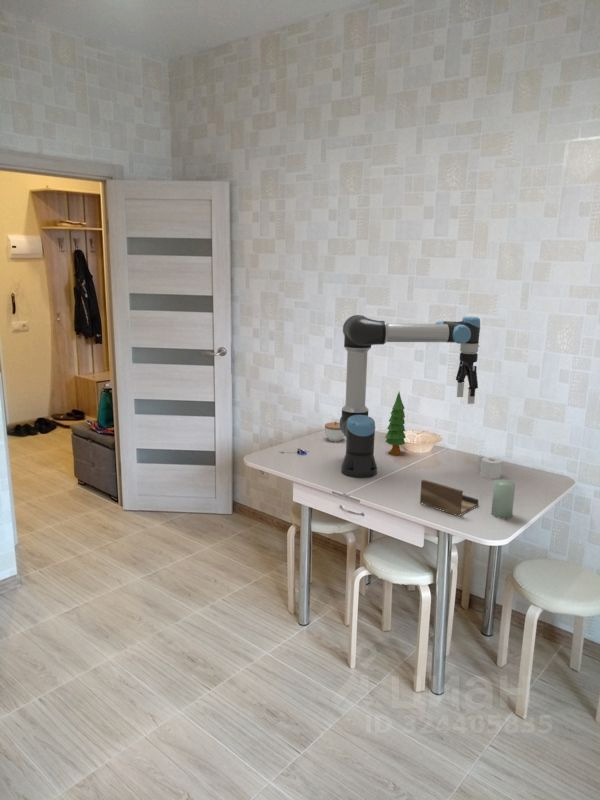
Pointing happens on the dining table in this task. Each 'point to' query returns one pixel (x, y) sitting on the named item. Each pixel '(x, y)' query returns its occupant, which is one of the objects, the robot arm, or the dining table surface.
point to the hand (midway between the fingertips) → (465, 400)
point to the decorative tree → (396, 427)
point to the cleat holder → (446, 498)
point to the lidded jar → (334, 432)
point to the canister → (503, 498)
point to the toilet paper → (490, 467)
